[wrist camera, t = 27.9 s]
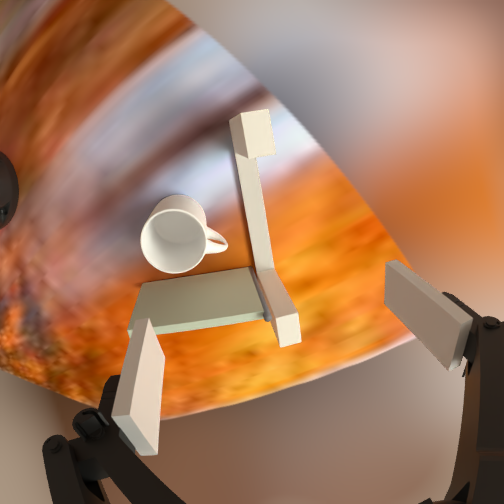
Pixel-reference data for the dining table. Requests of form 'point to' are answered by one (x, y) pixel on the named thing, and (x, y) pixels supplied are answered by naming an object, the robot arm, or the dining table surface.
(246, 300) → the door
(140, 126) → the dining table surface
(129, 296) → the dining table surface
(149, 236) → the mug
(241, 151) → the wall frame
